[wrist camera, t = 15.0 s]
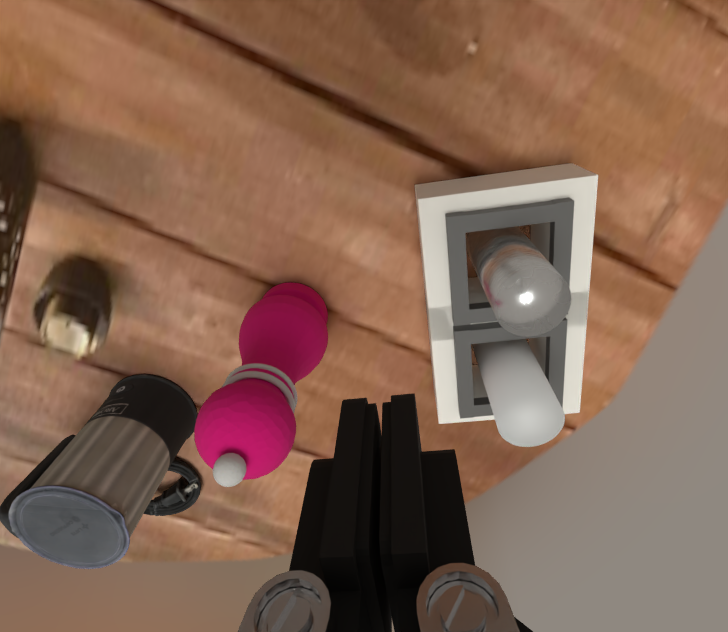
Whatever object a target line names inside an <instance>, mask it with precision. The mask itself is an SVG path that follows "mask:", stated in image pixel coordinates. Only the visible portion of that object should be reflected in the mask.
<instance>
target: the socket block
mask: <svg viewBox="0 0 728 632" xmlns="http://www.w3.org/2000/svg"><path fill="white" fill-rule="evenodd" d="M597 184H598V175H597V174H595V173H593V172H591V171H588V170H586V169H584V168H582V167H580V166H577V165H575V164H573V163H568V164H561V165H554V166H547V167H539V168H532V169H525V170H518V171H511V172H503V173H496V174H489V175H482V176H474V177H467V178H460V179H453V180H445V181H438V182H431V183H424V184H417V185H415V195H416V205H417V216H418V226H419V237H420V247H421V258H422V268H423V278H424V289H425V299H426V310H427V320H428V331H429V341H430V351H431V362H432V372H433V383H434V392H435V399H436V406H437V413H438V420H439V424H444V423H456V422H469V421H481V420H493V419H495V421H496V424H497V427H498V431H499V433H500V435H501V436H502V437H503V438H504V439H505V440H506V441H507V442H509V443H511V444H514V445H517V446H522V447H532V446H538V445H541V444H544V443H546V442H548V441H550V440H552V439H553V438H554V437H555V436H557V435H558V433H559V432H560V431H561V429H562V427H563V425H564V421H565V415H564V414H568V413H580V401H581V388H582V376H583V363H584V350H585V337H586V324H587V312H588V299H589V286H590V273H591V261H592V248H593V235H594V222H595V210H596V197H597ZM523 225H531V232H530V241H531V242H532V243H533V244H534V245H535V246H536V248H537V249H538V250H539V251H540V252H541V253H542V254H543V256H544V257H545V258H546V259H547V260H548V261H549V262H550V264H551V265H552V266H553V267H554V268H555V269H556V270H557V272H558V273H559V274H560V275H561V276H562V277H563V278H564V280H565V281H566V282H567V284H568V286H569V288H570V291H571V305H570V309H569V311H568V313H567V315H566V316H565V318H564V319H563V320H562V322H561V323H560V324H559V325H557V326H556V327H555V328H553V329H552V330H550V331H548V332H546V333H544V334H541V335H537V336H528V337H526V336H518V335H515V334H512V333H510V332H508V331H507V330H505V329H504V328H503V327H502V326H501V325H500V324H499V322H498V321H497V319H496V316H495V314H494V312H493V310H492V307H491V305H490V303H489V301H488V298H487V296H486V294H485V292H484V290H483V287H482V285H481V283H480V281H479V278H478V277H473V278H468V275H467V255H466V235H465V233H467V232H475V231H483V230H491V229H499V228H507V227H515V226H523ZM528 338H529V344H528V342H527V340H526V339H528ZM471 344H472V346H473V350H474V353H475V356H476V359H477V363H478V365H472V356H471Z"/></svg>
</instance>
